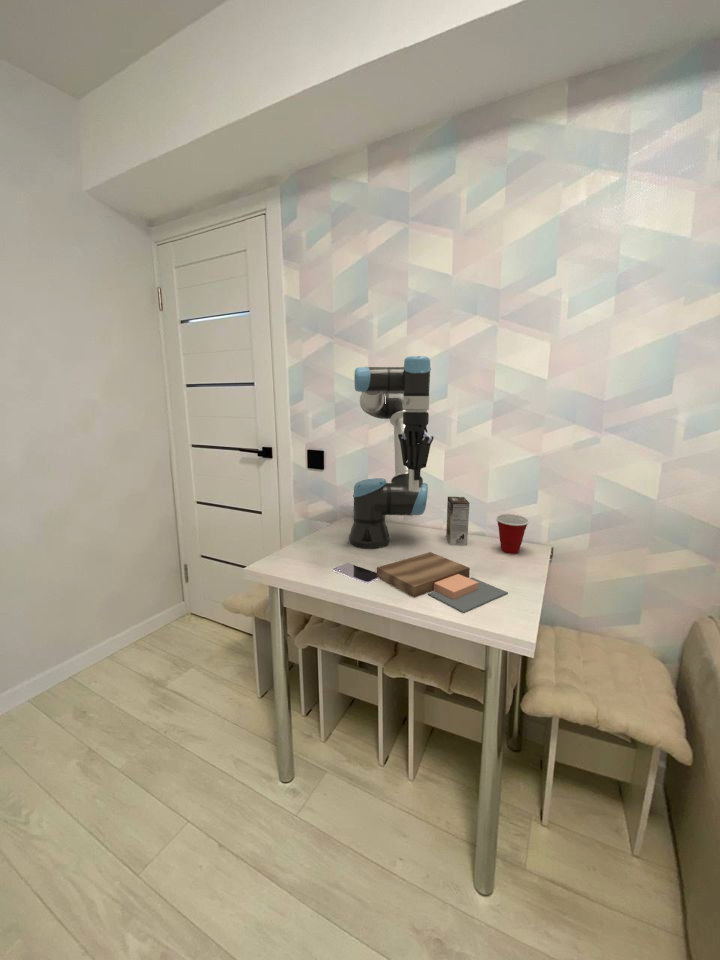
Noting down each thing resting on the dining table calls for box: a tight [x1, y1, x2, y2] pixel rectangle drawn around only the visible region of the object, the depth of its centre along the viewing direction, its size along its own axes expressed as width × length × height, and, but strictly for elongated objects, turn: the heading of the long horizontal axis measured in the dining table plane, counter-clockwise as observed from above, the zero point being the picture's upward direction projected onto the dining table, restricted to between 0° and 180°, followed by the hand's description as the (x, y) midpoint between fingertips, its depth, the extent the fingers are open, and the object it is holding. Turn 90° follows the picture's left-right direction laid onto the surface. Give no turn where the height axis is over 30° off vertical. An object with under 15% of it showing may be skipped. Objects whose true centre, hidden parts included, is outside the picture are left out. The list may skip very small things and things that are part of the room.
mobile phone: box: [332, 562, 380, 584], centre depth 122 cm, size 8×1×15 cm
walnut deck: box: [376, 551, 471, 598], centre depth 119 cm, size 16×22×3 cm
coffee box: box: [445, 496, 470, 546], centre depth 150 cm, size 9×6×16 cm
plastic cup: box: [495, 513, 530, 555], centre depth 140 cm, size 11×11×12 cm
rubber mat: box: [427, 577, 509, 614], centre depth 108 cm, size 12×18×1 cm, turn 126°
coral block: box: [434, 574, 478, 599], centre depth 110 cm, size 7×10×2 cm
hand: (413, 490), depth 123 cm, fingers closed
